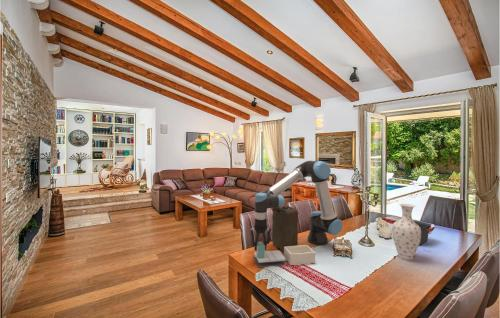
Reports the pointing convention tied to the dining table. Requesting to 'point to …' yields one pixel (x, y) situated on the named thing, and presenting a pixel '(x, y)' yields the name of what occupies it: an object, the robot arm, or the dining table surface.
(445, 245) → the dining table surface
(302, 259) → the tub
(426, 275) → the dining table surface
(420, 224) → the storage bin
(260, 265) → the mat
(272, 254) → the lid
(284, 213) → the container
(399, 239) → the vase
